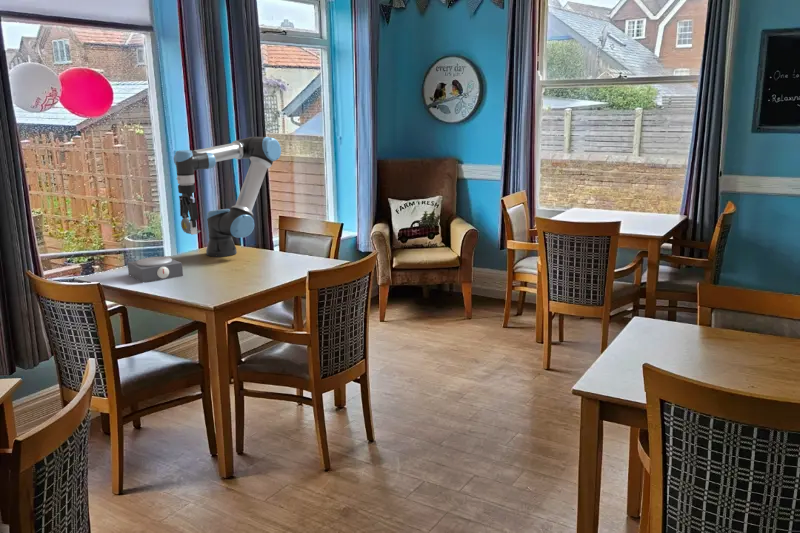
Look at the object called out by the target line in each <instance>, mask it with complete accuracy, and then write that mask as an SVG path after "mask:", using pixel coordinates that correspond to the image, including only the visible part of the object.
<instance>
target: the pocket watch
mask: <svg viewBox="0 0 800 533" xmlns="http://www.w3.org/2000/svg"><path fill="white" fill-rule="evenodd" d="M184 214H185V213H183V215H184ZM186 216H187V215H185V216H184V217H185V218H184V219H183V218H181V221H180V226H181V229H182V231H183V233H186V234H188V235H191V228H190V221H189V220H190V219H189V220H188V219H187V218H186ZM184 224H185V225H184ZM185 226H186V227H185ZM186 228H187V229H186ZM200 232H201V230H200V229H197V234H199V233H200Z"/></svg>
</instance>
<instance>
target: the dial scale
mask: <svg viewBox="0 0 800 533" xmlns="http://www.w3.org/2000/svg"><path fill="white" fill-rule="evenodd" d="M127 269H128V276H130V275H131V276H130V277H132V278H133V277H134V278H133V279H135V278H136V279H135V280H137V279H138V281H139V282H141V283H143V282H144V283H149V281H150V282H155V280H156V281H161V280H160V279H162V280H166V279H167V280H168V279H173V278H178V277H183V276H184V271H183V270H184V269H183V263H182V262H181V261H178V260H175V259H174V258H172V257H169V256H167V255H165V256H150V257H144V258H141V259H138V260H132V261H127Z"/></svg>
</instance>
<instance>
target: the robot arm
mask: <svg viewBox="0 0 800 533" xmlns="http://www.w3.org/2000/svg"><path fill="white" fill-rule="evenodd" d="M281 147H282V146H281V145H280V142H279V141H278V140H277V139H276V138H274V137H270V136H249V137H246V138H241V139H237V140H233V141H232V142H231V143H227V144H221V145H216V146H210V147H207V148H205V147H204V148H199V149H195V150H194V149H193V150H191V149H181V150H176V151H175V155H174V156H173V163H174V165H175V167H176V168H175V169H176V180H177V184H178V185H177V189H178V193H179V194H181V195H179V196H178V198H179V212H180V215H179V216H180V217H181V219H184V218H185V217H184V216H185V215H187V216H186V218H187V219H188V220H189V222H190V228H191V229H190V230H191V234H190V235H198V233H197V230H198V228H197V226H198V225H197V220H199V212H198V206H197V198H196V197H194V196H193V194H194V193H195V192H196V185H195V182H196V181H195V171H198V170H199V171H200V170H201V171H202V170H209V169H214V168H215V167H216V164H217V162H222V161H228V160H233V159H236V160H242V159H243V160H244V159H248V160H250V165H249V168H248V170H247V173H246V175H245V178H244V180H243V184H242V186H241V189H240V190H239V191H240V192H239V194H238V196H237V200H236V202H235V205H232V206H231V207H230V208H222V209H215V210H213V209H212V210H210V211H208V212H207V215H206V216H207V217H206V220H207V231H208V233H207V234H208V242H207V246H206V249H205V250H206V256H209V257H214V258H215V257H216V258H220V257H223V258H224V257H229V256H230V255H231V256H235V255H236V254H237V247H236V245H235V242H234V240H233V237H235V238H239V239H240V238H247V237H248V236H250V235H251V234H252V232H253V231H254V228H255V220H254V213H253V209H254V206H255V204H256V203H255V202H256V200H257V197H258V195H259V193H260V189H261V186H262V185H263V181H264V179H265V176H266V174H267V171H268V169H269V168H271V167H272V166H273V163H274V162H275V161H277V160H279V159H280V157H281V156H282V155H281V154H282V148H281ZM183 213H185V214H184V215H183ZM184 225H185V224H184ZM185 227H186V226H185ZM186 229H187V228H186Z"/></svg>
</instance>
